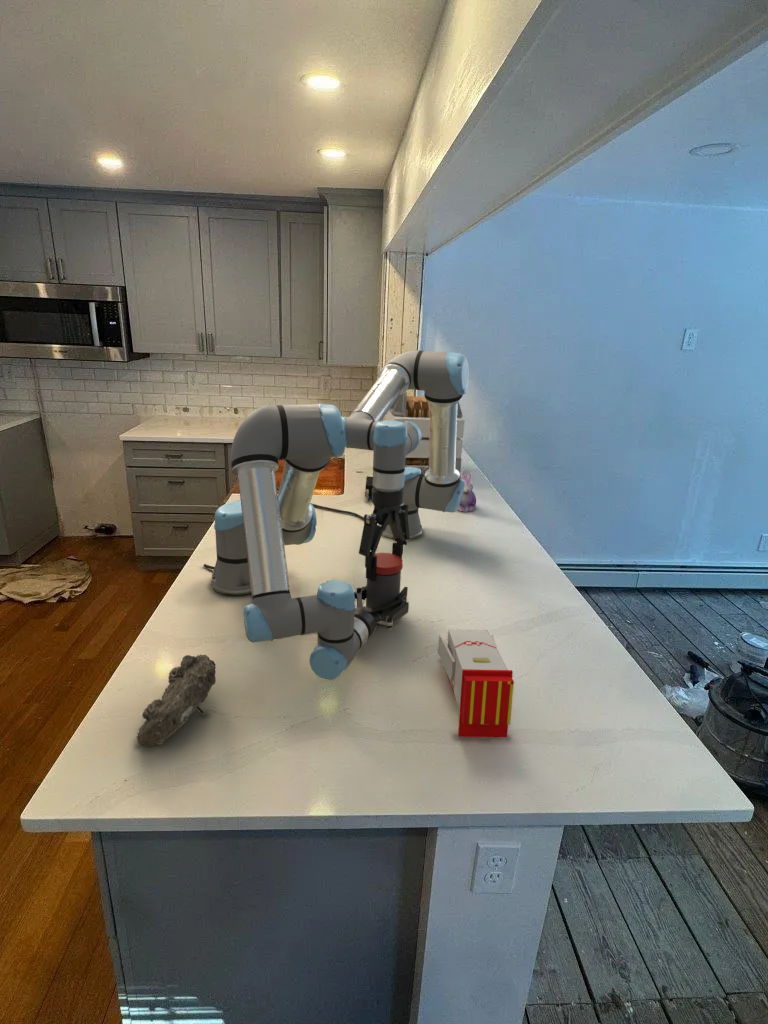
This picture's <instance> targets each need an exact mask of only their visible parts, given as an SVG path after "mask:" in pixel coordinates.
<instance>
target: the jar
mask: <svg viewBox="0 0 768 1024" xmlns="http://www.w3.org/2000/svg"><path fill="white" fill-rule="evenodd" d="M401 577H402V570H401V571H400V572H398V573H395V574H390V575H382V574H376V581H374V582H373V581H371V580H369V579H367V578H366V585H367V586H366V585H365V586H366V599H365V607H368V608H376V607H378V606H380V607H382V606H385V605H387V604H389V603H392V602H394V601H396V597H397V596H398V595H399V593H400V592H401ZM385 618H386V617H385ZM383 619H384V618H383ZM380 626H383V625H382V624H381V625H380Z"/></svg>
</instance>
